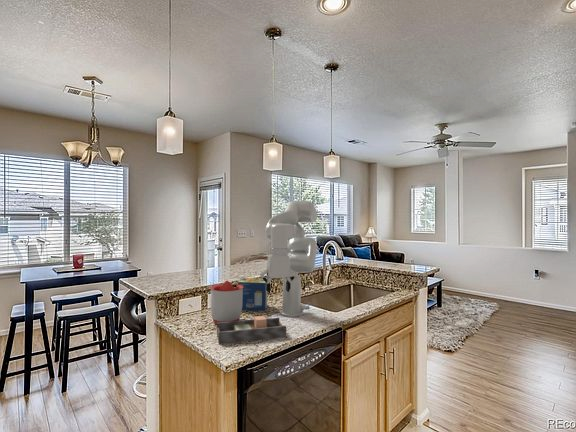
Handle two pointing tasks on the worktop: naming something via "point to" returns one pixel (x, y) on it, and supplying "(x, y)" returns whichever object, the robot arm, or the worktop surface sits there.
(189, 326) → the worktop surface
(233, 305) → the citrus juicer
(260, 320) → the terracotta block
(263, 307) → the protein box
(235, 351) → the worktop surface
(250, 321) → the box
